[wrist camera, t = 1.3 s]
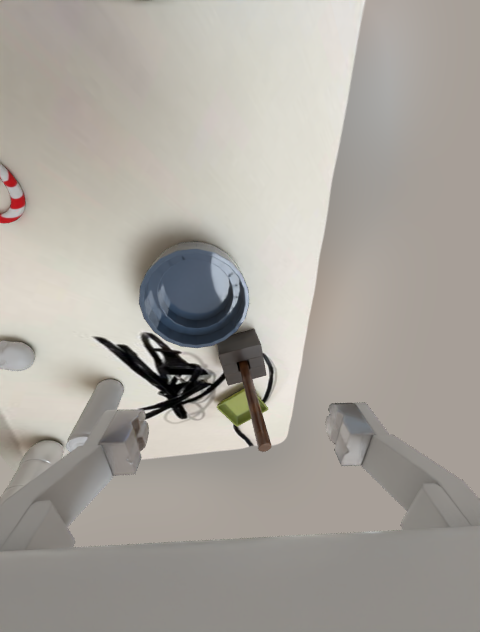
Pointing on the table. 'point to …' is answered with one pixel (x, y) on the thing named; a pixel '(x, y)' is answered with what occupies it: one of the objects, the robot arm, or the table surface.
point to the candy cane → (12, 197)
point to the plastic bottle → (33, 465)
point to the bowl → (194, 295)
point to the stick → (254, 408)
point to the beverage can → (95, 411)
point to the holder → (241, 356)
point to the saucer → (238, 408)
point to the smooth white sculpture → (15, 356)
